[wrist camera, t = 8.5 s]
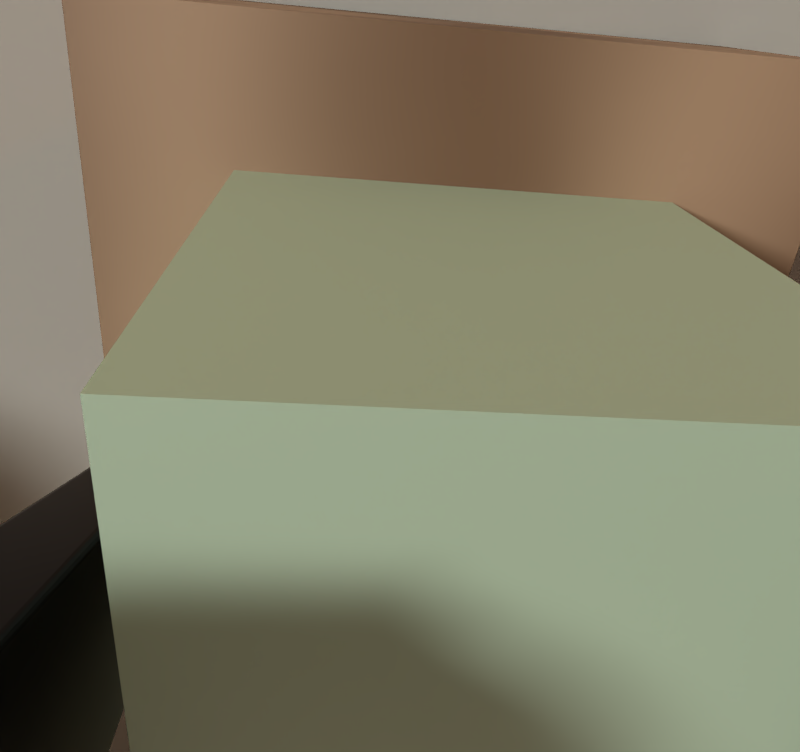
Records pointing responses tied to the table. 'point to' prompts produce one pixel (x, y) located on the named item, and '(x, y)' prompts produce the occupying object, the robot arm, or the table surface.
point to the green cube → (453, 478)
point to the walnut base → (410, 120)
